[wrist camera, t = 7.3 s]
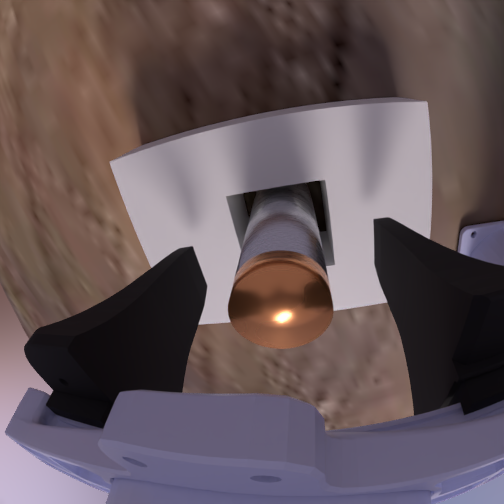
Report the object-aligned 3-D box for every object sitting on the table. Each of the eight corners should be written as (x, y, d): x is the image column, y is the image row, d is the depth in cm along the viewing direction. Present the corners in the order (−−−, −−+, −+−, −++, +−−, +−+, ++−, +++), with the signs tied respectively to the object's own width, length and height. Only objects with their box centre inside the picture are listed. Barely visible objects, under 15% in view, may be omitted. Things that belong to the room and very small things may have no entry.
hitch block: (397, 97, 12) (427, 101, 9) (404, 261, 17) (423, 295, 14) (141, 145, 15) (109, 161, 12) (193, 289, 20) (179, 325, 17)
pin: (309, 170, 15) (336, 267, 7) (311, 221, 16) (330, 346, 9) (252, 174, 15) (219, 272, 8) (258, 224, 17) (236, 348, 9)
